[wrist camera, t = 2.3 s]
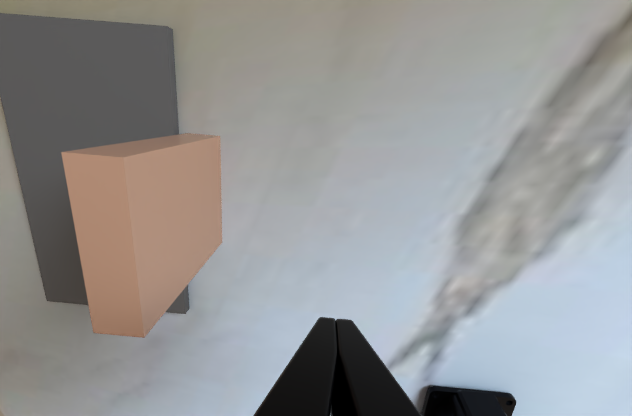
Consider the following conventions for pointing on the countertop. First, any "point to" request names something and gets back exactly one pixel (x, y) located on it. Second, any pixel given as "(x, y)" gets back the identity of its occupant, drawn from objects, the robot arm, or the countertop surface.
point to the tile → (143, 224)
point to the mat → (78, 118)
